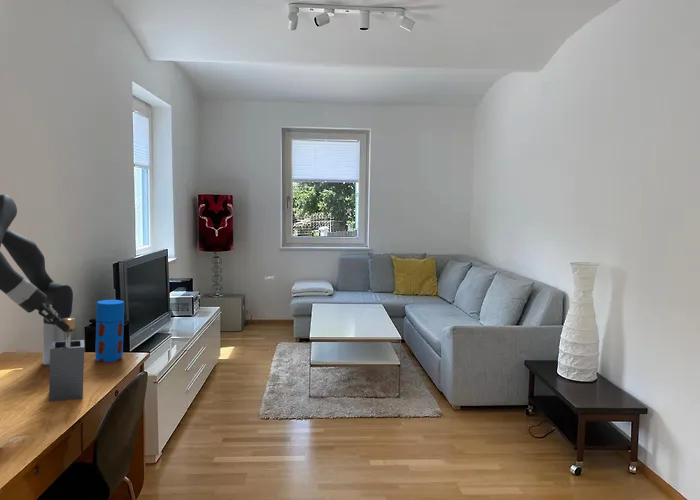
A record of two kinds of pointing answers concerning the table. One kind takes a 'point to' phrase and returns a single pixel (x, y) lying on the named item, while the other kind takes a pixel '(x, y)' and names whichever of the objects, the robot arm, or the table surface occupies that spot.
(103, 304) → the thermos
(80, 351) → the press tower
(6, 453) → the table surface
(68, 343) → the plunger
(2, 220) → the robot arm
